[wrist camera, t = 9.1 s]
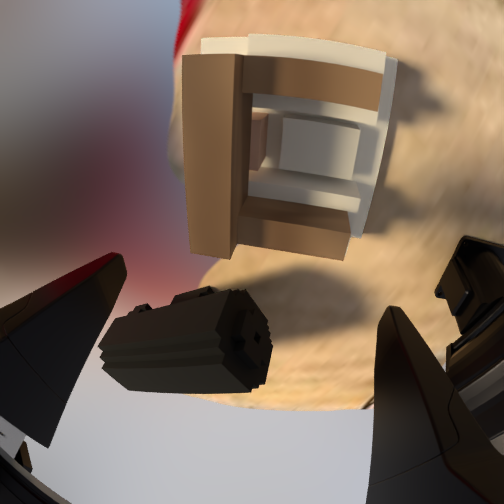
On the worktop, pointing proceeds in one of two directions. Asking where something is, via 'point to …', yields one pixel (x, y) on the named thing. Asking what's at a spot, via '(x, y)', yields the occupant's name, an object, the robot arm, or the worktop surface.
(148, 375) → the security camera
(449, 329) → the worktop surface
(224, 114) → the wooden c-shaped bracket
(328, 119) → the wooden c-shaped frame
